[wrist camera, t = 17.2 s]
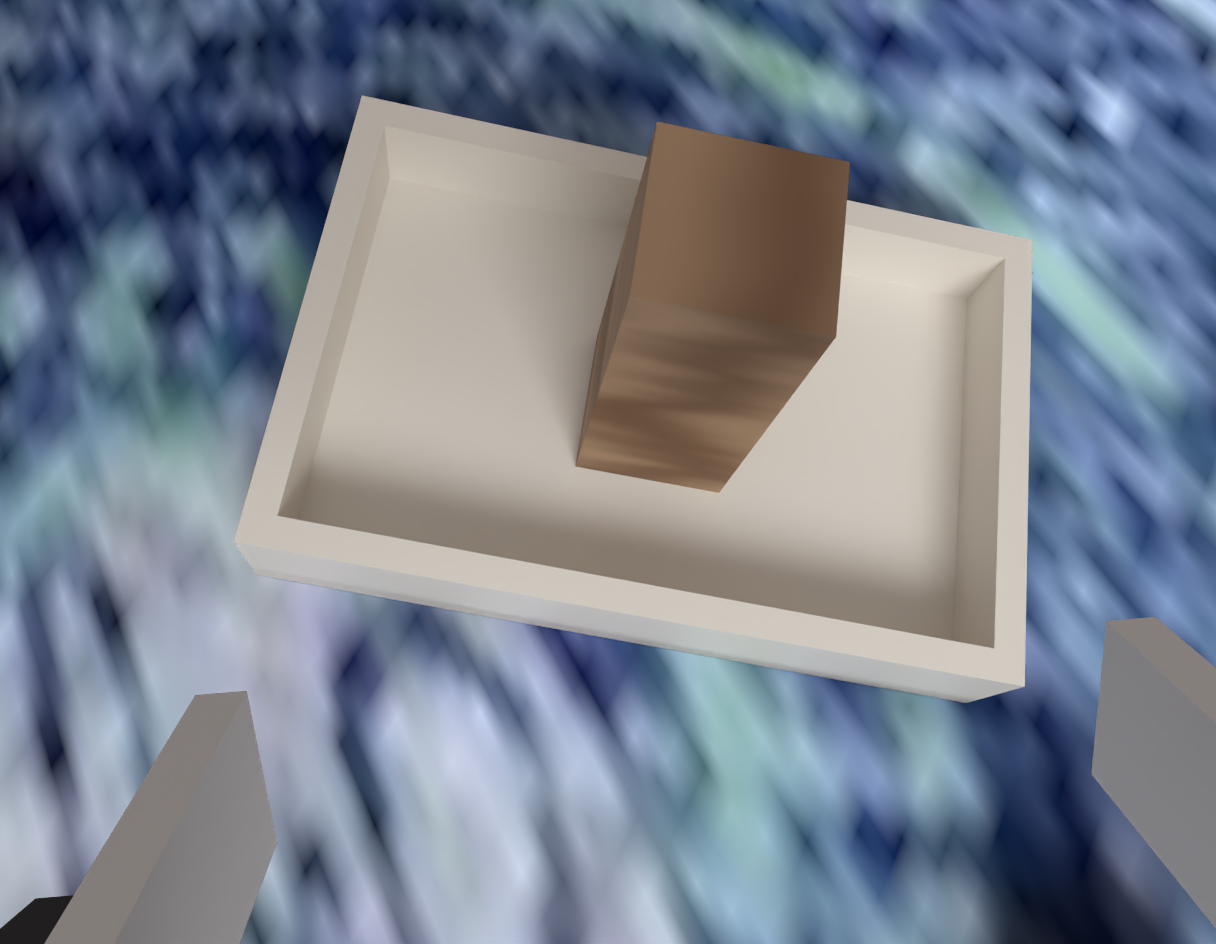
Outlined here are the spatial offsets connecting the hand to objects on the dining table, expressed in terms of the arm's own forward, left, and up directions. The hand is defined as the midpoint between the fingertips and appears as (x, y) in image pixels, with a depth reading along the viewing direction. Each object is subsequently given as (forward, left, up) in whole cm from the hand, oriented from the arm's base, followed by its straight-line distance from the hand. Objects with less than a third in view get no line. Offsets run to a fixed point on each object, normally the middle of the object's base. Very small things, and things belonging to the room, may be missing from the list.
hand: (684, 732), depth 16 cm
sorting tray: (+1, +13, -18) cm, 23 cm away
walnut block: (+1, +13, -17) cm, 22 cm away
